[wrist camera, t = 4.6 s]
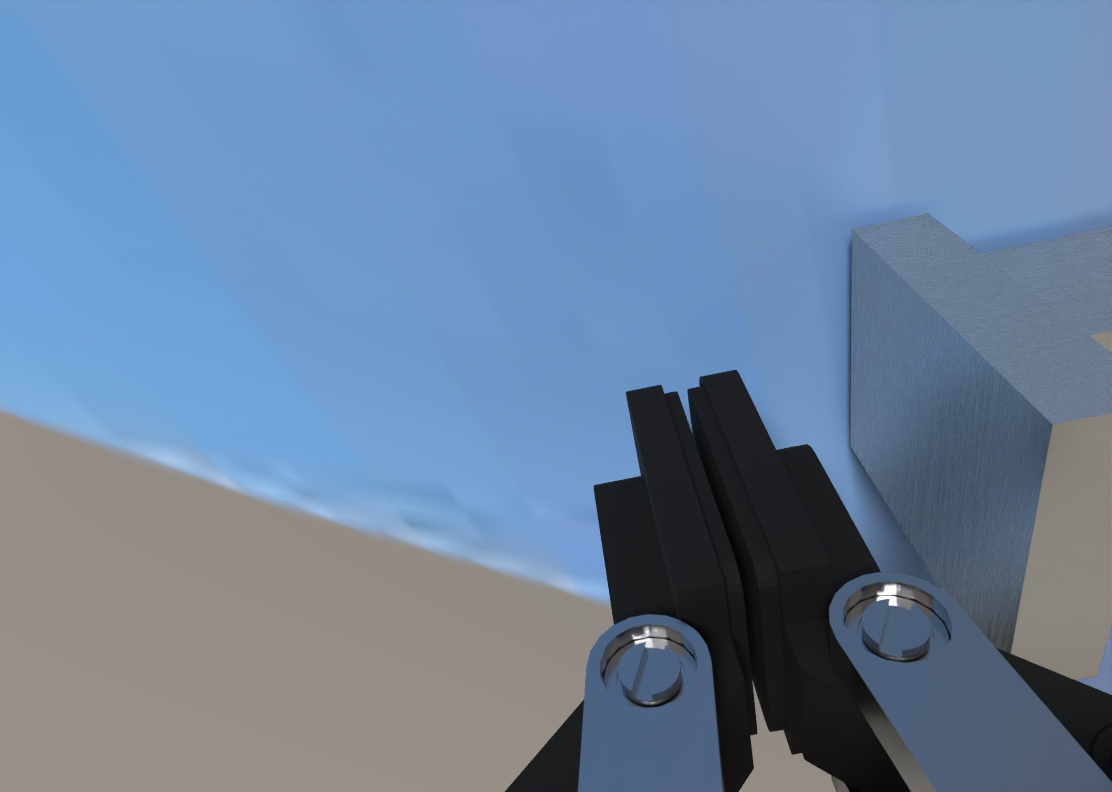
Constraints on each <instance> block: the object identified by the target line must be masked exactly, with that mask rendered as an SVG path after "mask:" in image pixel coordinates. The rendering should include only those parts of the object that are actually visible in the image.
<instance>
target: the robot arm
mask: <svg viewBox="0 0 1112 792" xmlns="http://www.w3.org/2000/svg"><path fill="white" fill-rule="evenodd" d="M699 384H700V387H696V388H691V389H688V401H689V408H690V416H691V423H692V431H693V435H692V432H691V430H690V427H689V424H688V421H687V418H686V415H685V412H684V409H683V406H682V403H681V401H680V398H679V395H678V392H677V391H676V392H671V393H666V394H664V391H663V388H662V386H661V385H657V386H652V387H647V388H642V389H637V390H632V391H627V392H626V396H627V402H628V408H629V413H630V418H631V424H632V429H633V435H634V440H635V446H636V451H637V456H638V462H639V467H640V473H641V476H639V477H634V478H629V479H624V480H619V481H614V482H608V483H603V484H598V485H594V493H595V500H596V507H597V514H598V520H599V527H600V534H601V541H602V547H603V554H604V561H605V567H606V574H607V581H608V587H609V594H610V601H611V607H612V614H613V621H614V625H613V626H612V627H611V628H609V629H608V630H607V631H606V632H605V633H604V634H602V635H601V636H600V637H599V639H598V640H597V642H596V643H595V645H594V646H593V648H592V650H591V652H590V655H589V659H588V663H587V668H586V682H585V697H584V700H583V701H582V702H581V704H580V705H579V706H578V707H577V708H576V709H575V711H574V712H573V713H572V714H571V715H570V716H569V718H568V719H567V720H566V721H565V722H564V723H563V725H562V726H561V727H560V728H559V729H558V730H557V732H556V733H555V734H554V735H553V736H552V737H551V739H550V740H549V741H548V742H547V743H546V744H545V746H544V747H543V748H542V749H541V750H540V752H539V753H538V754H537V755H536V756H535V757H534V758H533V760H532V761H531V762H530V763H529V764H528V765H527V767H526V768H525V769H524V770H523V771H522V772H521V774H520V775H519V776H518V777H517V778H516V779H515V780H514V782H513V783H512V784H511V785H510V786H509V787H508V789H507V790H506V791H505V792H739V790H740V789H741V787H742V785H743V784H744V782H745V781H746V779H747V778H748V776H749V775H750V773H751V772H752V770H753V769H754V766H753V757H752V748H751V740H750V739H751V738H750V735H755V734H757V723H756V713H755V703H754V694H753V684H752V680H753V683H754V686H755V689H756V693H757V696H758V699H759V702H760V705H761V709H762V712H763V715H764V718H765V721H766V724H767V727H768V729H769V731H770V732H772V731H778V730H784V732H785V735H786V738H787V742H788V744H789V748H790V751H791V753H792V754H798V753H803V756H804V759H805V760H806V761H808V762H810V763H811V764H813V765H815V766H816V767H818V768H820V769H822V770H823V771H825V772H827V773H828V774H830V775H832V781H833V784H834V787H835V789H836V792H1112V695H1110V694H1107V693H1105V692H1102V691H1100V690H1098V689H1095V688H1093V687H1090V686H1088V685H1086V684H1083V683H1081V682H1078V681H1076V680H1073V679H1071V678H1069V677H1066V676H1064V675H1061V674H1059V673H1056V672H1054V671H1052V670H1049V669H1047V668H1044V667H1042V666H1040V665H1037V664H1035V663H1032V662H1030V661H1027V660H1025V659H1023V658H1020V657H1018V656H1015V655H1013V654H1010V653H1008V652H1006V651H1003V650H1001V649H998V648H996V647H995V646H994V645H993V644H992V643H991V642H990V641H989V640H988V638H987V637H986V636H985V635H984V634H983V633H982V631H981V630H980V629H979V628H978V627H977V626H976V624H975V623H974V622H973V621H972V620H971V619H970V618H969V616H968V615H967V614H966V613H965V612H964V611H963V609H962V608H961V607H960V606H959V605H958V604H957V602H956V601H955V600H953V599H952V598H951V597H950V596H949V595H948V594H947V593H945V592H944V591H943V590H942V589H941V588H939V587H937V586H935V585H933V584H932V583H930V582H928V581H926V580H924V579H922V578H918V577H915V576H911V575H907V574H903V573H892V572H881V571H880V569H879V568H878V566H877V564H876V562H875V560H874V559H873V557H872V555H871V553H870V551H869V549H868V548H867V546H866V544H865V542H864V540H863V539H862V537H861V535H860V533H859V531H858V530H857V528H856V526H855V524H854V522H853V521H852V519H851V517H850V515H849V513H848V511H847V510H846V508H845V506H844V504H843V502H842V501H841V499H840V497H839V495H838V493H837V492H836V490H835V488H834V486H833V484H832V483H831V481H830V479H829V477H828V475H827V474H826V472H825V470H824V468H823V466H822V464H821V463H820V461H819V459H818V457H817V455H816V454H815V452H814V451H813V449H812V448H811V446H809V445H807V444H805V445H800V446H795V447H789V448H784V449H779V450H776V449H775V447H774V445H773V443H772V441H771V439H770V437H769V434H768V432H767V430H766V428H765V426H764V424H763V422H762V420H761V418H760V416H759V414H758V412H757V410H756V408H755V406H754V404H753V402H752V399H751V397H750V395H749V393H748V391H747V389H746V387H745V385H744V383H743V381H742V379H741V377H740V375H739V373H738V371H737V370H732V371H727V372H722V373H717V374H712V375H707V376H702V377H700V379H699Z"/></svg>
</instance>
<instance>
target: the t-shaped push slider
mask: <svg viewBox="0 0 1112 792" xmlns="http://www.w3.org/2000/svg"><path fill="white" fill-rule="evenodd" d="M851 447H852V449H853V451H854V452H855V454H856V455H857V457H858V459H859V460H860V462H861V464H862V465H863V467H864V468H865V470H866V472H867V473H868V475H869V476H870V478H871V480H872V481H873V483H874V484H875V486H876V488H877V489H878V491H879V492H880V494H881V496H882V497H883V499H884V500H885V502H886V504H887V505H888V507H889V508H890V510H891V512H892V513H893V515H894V516H895V518H896V520H897V521H898V523H899V524H900V526H901V528H902V529H903V531H904V532H905V534H906V536H907V537H908V539H909V540H910V542H911V544H912V545H913V547H914V548H915V550H916V552H917V553H918V555H919V556H920V558H921V560H922V561H923V563H924V565H925V566H926V568H927V569H928V571H929V573H930V574H931V576H932V577H933V579H934V581H935V582H936V584H937V585H938V587H939V588H941V589H942V590H943V591H944V592H945V593H947V594H948V595H949V596H950V597H951V598H952V599H953V600H955V601H956V602H957V604H958V605H959V606H960V607H961V608H962V609H963V611H964V612H965V613H966V614H967V615H968V616H969V618H970V619H971V620H972V621H973V622H974V623H975V624H976V626H977V627H978V628H979V629H980V630H981V631H982V633H983V634H984V635H985V636H986V637H987V638H988V640H989V641H990V642H991V643H992V644H993V645H994V646H995V647H996V648H998V649H1001V650H1003V651H1006V652H1008V653H1010V654H1013V655H1015V656H1018V657H1020V658H1023V659H1025V660H1027V661H1030V662H1032V663H1035V664H1037V665H1040V666H1042V667H1044V668H1047V669H1049V670H1052V671H1054V672H1056V673H1059V674H1061V675H1064V676H1066V677H1069V678H1071V679H1073V680H1075V679H1081V678H1087V677H1092V676H1097V675H1098V672H1099V668H1100V665H1101V661H1102V658H1103V654H1104V651H1105V647H1106V643H1107V640H1108V636H1109V633H1110V629H1111V626H1112V226H1111V227H1106V228H1101V229H1097V230H1092V231H1087V232H1082V233H1077V234H1072V235H1067V236H1063V237H1058V238H1053V239H1048V240H1043V241H1038V242H1034V243H1029V244H1024V245H1019V246H1014V247H1009V248H1005V249H1000V250H995V251H990V252H985V253H980V252H979V251H977V250H976V249H975V248H973V247H972V246H971V245H969V244H968V243H967V242H965V241H964V240H963V239H962V238H960V237H959V236H958V235H956V234H955V233H954V232H952V231H951V230H950V229H948V228H947V227H946V226H944V225H943V224H942V223H940V222H939V221H938V220H937V219H935V218H934V217H933V216H931V215H930V214H929V213H927V214H922V215H917V216H912V217H908V218H903V219H898V220H893V221H889V222H884V223H879V224H874V225H870V226H865V227H860V228H856V229H852V295H851Z"/></svg>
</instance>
